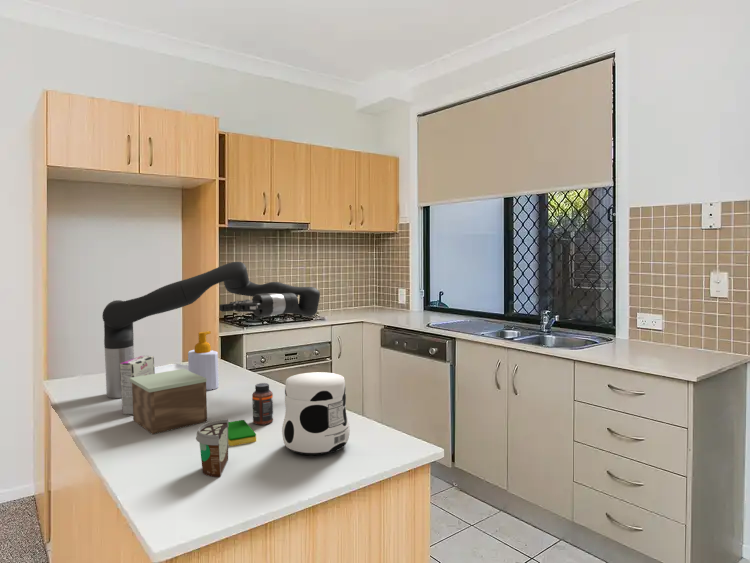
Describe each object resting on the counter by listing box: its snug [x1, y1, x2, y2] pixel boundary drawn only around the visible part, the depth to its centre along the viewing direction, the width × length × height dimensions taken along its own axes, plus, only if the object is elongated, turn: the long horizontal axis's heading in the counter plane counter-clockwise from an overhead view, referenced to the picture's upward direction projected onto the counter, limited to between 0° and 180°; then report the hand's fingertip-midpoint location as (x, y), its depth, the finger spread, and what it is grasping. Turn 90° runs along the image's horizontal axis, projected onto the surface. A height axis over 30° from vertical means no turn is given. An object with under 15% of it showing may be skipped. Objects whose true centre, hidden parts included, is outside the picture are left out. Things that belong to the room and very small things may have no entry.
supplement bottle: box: [251, 382, 274, 426], centre depth 159 cm, size 6×6×11 cm
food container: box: [195, 418, 229, 478], centre depth 126 cm, size 12×6×10 cm, turn 5°
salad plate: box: [154, 362, 189, 374], centre depth 212 cm, size 21×21×3 cm
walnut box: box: [132, 382, 208, 435], centre depth 160 cm, size 16×16×12 cm
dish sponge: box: [228, 419, 257, 447], centre depth 148 cm, size 7×14×2 cm, turn 27°
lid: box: [129, 369, 207, 392], centre depth 160 cm, size 17×17×1 cm
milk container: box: [281, 371, 351, 456], centre depth 138 cm, size 17×17×18 cm
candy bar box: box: [120, 355, 155, 416], centre depth 171 cm, size 11×5×16 cm, turn 168°
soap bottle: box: [187, 330, 220, 391], centre depth 198 cm, size 13×8×20 cm, turn 58°
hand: (220, 308), depth 170 cm, fingers closed
